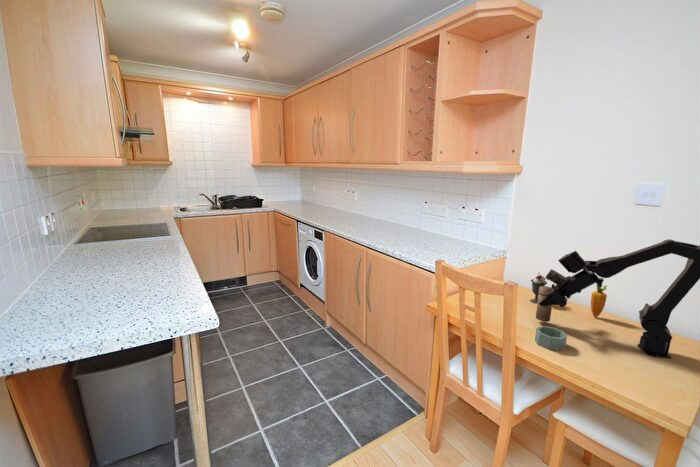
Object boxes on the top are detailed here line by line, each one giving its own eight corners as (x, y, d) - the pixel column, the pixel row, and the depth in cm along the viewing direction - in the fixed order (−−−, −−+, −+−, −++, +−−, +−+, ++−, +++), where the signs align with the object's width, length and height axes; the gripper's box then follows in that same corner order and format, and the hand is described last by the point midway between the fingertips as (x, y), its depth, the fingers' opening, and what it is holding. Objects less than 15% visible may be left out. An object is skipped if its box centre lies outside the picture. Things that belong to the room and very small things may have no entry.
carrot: (602, 316, 134) (607, 283, 131) (603, 321, 129) (609, 286, 127) (587, 313, 136) (593, 281, 133) (588, 318, 132) (594, 284, 129)
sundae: (531, 304, 146) (535, 273, 143) (525, 298, 152) (529, 268, 149) (546, 305, 145) (551, 274, 142) (540, 299, 151) (544, 269, 148)
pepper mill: (547, 316, 129) (551, 286, 126) (552, 322, 124) (556, 291, 121) (533, 315, 130) (537, 285, 128) (537, 320, 125) (541, 290, 123)
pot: (558, 339, 115) (560, 327, 114) (568, 352, 107) (570, 340, 106) (532, 336, 117) (533, 324, 116) (540, 348, 109) (542, 336, 108)
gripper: (564, 259, 127) (530, 280, 136) (559, 270, 113) (522, 292, 122) (585, 282, 124) (549, 301, 133) (583, 296, 110) (543, 317, 119)
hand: (540, 302), depth 127 cm, fingers closed on pepper mill, 5 cm apart
